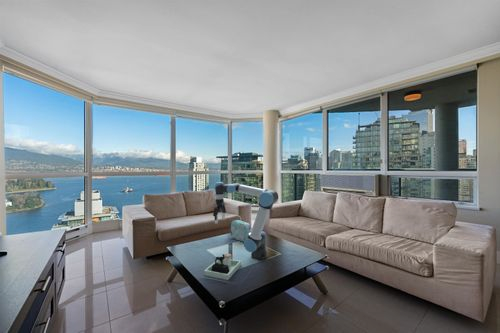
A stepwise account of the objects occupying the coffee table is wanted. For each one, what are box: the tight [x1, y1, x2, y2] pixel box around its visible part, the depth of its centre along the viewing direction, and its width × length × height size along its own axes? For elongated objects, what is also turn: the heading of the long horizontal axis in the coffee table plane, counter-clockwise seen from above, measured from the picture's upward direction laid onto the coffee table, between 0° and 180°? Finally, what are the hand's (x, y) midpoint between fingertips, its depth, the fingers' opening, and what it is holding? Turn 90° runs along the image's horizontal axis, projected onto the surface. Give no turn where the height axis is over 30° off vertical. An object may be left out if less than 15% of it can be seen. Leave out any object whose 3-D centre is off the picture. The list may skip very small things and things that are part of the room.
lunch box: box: [230, 219, 252, 243], centre depth 238 cm, size 27×10×21 cm, turn 45°
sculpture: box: [211, 253, 230, 274], centre depth 161 cm, size 8×13×15 cm, turn 63°
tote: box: [203, 258, 242, 282], centre depth 166 cm, size 20×24×4 cm
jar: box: [224, 253, 233, 267], centre depth 173 cm, size 6×6×9 cm
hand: (219, 221), depth 196 cm, fingers open, 13 cm apart
